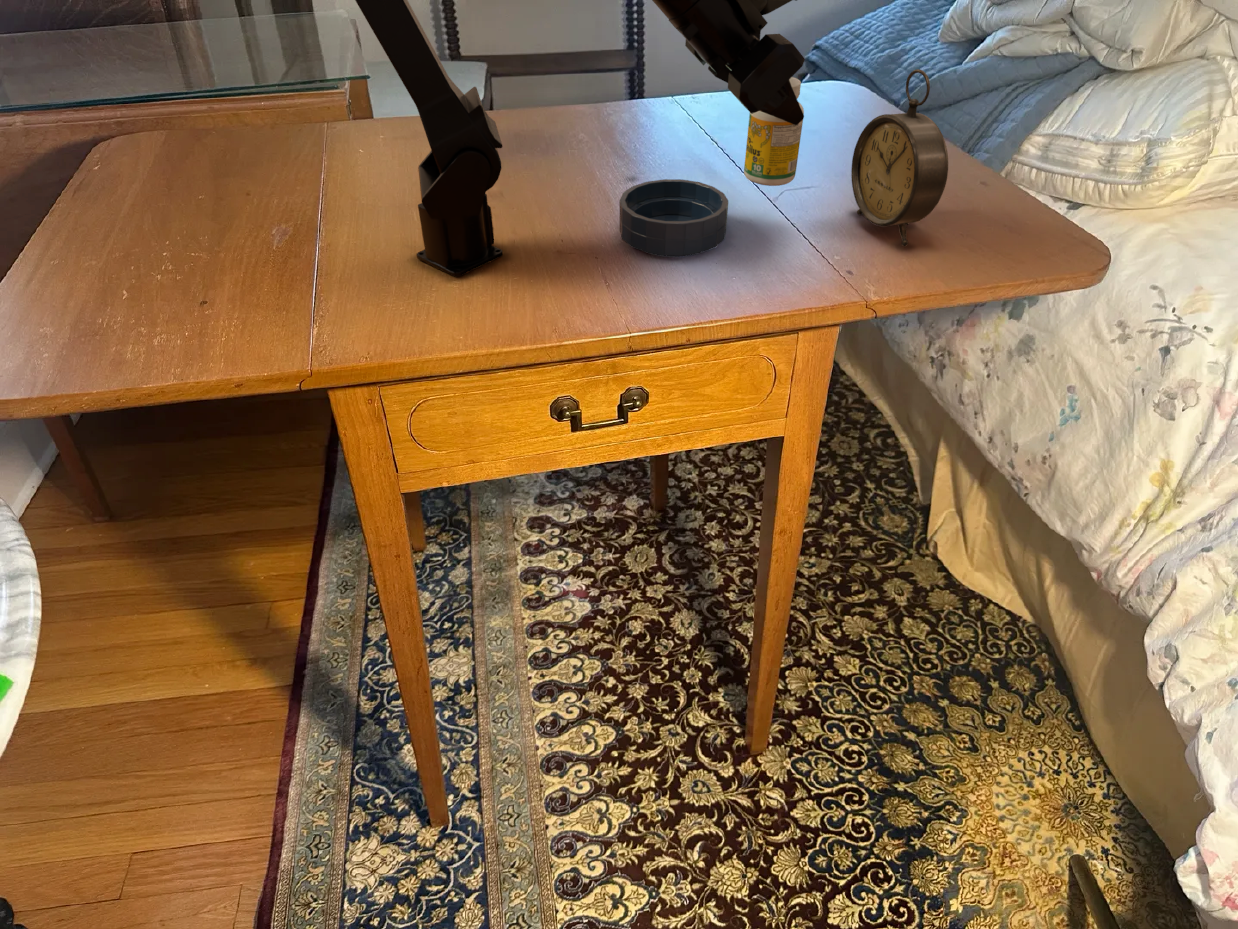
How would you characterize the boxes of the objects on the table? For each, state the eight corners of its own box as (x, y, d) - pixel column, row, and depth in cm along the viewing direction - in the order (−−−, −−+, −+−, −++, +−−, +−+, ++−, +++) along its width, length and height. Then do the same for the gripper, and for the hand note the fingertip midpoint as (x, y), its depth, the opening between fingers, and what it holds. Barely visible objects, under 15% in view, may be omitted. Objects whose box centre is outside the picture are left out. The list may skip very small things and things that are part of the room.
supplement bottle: (802, 185, 89) (816, 87, 82) (752, 188, 88) (763, 90, 82) (784, 165, 93) (797, 71, 86) (736, 168, 92) (746, 73, 86)
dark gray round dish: (681, 271, 86) (683, 233, 84) (598, 238, 92) (597, 202, 89) (746, 233, 93) (749, 198, 90) (664, 205, 98) (665, 170, 96)
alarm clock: (840, 212, 97) (866, 57, 86) (881, 204, 98) (911, 52, 88) (896, 254, 89) (933, 89, 78) (940, 245, 90) (982, 83, 80)
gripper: (797, -65, 68) (896, 75, 77) (725, -100, 81) (816, 23, 90) (694, 47, 71) (800, 169, 80) (642, -4, 85) (737, 105, 94)
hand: (789, 111), depth 86 cm, fingers closed on supplement bottle, 5 cm apart
